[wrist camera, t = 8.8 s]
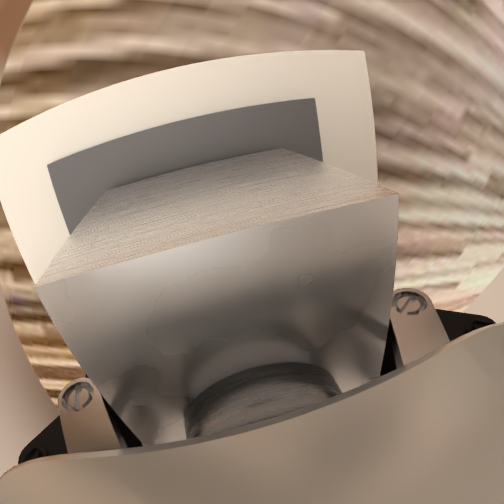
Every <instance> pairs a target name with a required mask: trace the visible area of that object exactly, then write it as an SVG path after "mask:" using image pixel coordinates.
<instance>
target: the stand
mask: <svg viewBox="0 0 504 504" xmlns="http://www.w3.org/2000/svg"><path fill="white" fill-rule="evenodd" d="M279 148H284V149H287V150H290V151H293V152H296V153H299V154H302V155H304V156H307V157H310V158H313V159H315V160H318V161H321V162H324V163H326V164H329V165H331V166H334V167H337V168H339V169H342V170H344V171H347V172H349V173H352V174H354V175H356V176H359V177H361V178H364V179H366V180H368V181H371V182H373V183H375V184H378V170H377V152H376V138H375V127H374V117H373V107H372V99H371V91H370V83H369V76H368V70H367V64H366V58H365V52H364V51H357V50H305V51H285V52H272V53H262V54H252V55H244V56H236V57H229V58H223V59H217V60H211V61H205V62H200V63H195V64H190V65H185V66H180V67H176V68H172V69H167V70H163V71H159V72H155V73H152V74H148V75H144V76H141V77H137V78H134V79H130V80H127V81H124V82H121V83H117V84H114V85H111V86H108V87H105V88H103V89H100V90H97V91H94V92H91V93H89V94H86V95H83V96H81V97H78V98H76V99H73V100H71V101H68V102H66V103H63V104H61V105H59V106H56V107H54V108H52V109H50V110H47V111H45V112H43V113H41V114H39V115H37V116H35V117H33V118H31V119H29V120H27V121H25V122H23V123H21V124H19V125H17V126H15V127H13V128H11V129H9V130H7V131H6V132H4V133H2V134H0V201H1V204H2V207H3V209H4V212H5V215H6V218H7V221H8V223H9V226H10V228H11V231H12V234H13V236H14V239H15V241H16V243H17V246H18V248H19V251H20V253H21V255H22V257H23V260H24V262H25V264H26V266H27V268H28V270H29V273H30V275H31V277H32V279H33V281H34V283H35V285H36V283H37V282H38V280H39V279H40V277H41V276H42V274H43V273H44V271H45V270H46V268H47V267H48V265H49V264H50V263H51V261H52V260H53V258H54V257H55V255H56V254H57V253H58V251H59V250H60V248H61V247H62V246H63V244H64V243H65V242H66V240H67V239H68V238H69V236H70V235H71V234H72V232H73V231H74V230H75V228H76V227H77V226H78V224H79V223H80V222H81V221H82V219H83V218H84V217H85V216H86V214H87V213H88V212H89V211H90V209H91V208H92V207H93V206H94V205H95V203H96V202H97V201H98V200H99V199H100V197H101V196H102V195H103V194H104V193H105V191H108V190H111V189H114V188H117V187H121V186H124V185H127V184H130V183H134V182H137V181H141V180H144V179H148V178H151V177H155V176H159V175H162V174H166V173H170V172H174V171H177V170H181V169H185V168H189V167H193V166H198V165H202V164H206V163H210V162H215V161H219V160H224V159H228V158H233V157H238V156H242V155H247V154H252V153H257V152H263V151H268V150H274V149H279Z"/></svg>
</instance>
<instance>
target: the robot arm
mask: <svg viewBox="0 0 504 504" xmlns="http://www.w3.org/2000/svg"><path fill="white" fill-rule="evenodd" d="M58 410H59V416H58V417H57V418H56V419H55V420H54V421H53V422H52V423H51V424H49V425H48V426H47V427H46V428H45V429H44V430H43V431H42V432H41V433H40V434H39V435H38V436H36V437H35V438H34V439H33V440H32V441H31V442H30V443H29V444H28V445H27V446H26V447H25V448H24V449H23V450H22V452H21V454H20V456H19V461H18V465H16V466H14V467H12V468H11V469H9V470H8V471H7V472H5V473H4V474H3V475H2V476H1V477H0V504H504V322H502V323H495V322H494V321H493V320H492V319H490V318H488V317H485V316H481V315H475V314H467V313H460V312H453V311H446V310H439V309H435V308H434V305H433V303H432V301H431V300H430V298H429V297H428V295H426V294H425V293H423V292H422V291H419V290H417V289H412V288H402V289H397V290H395V291H393V296H392V304H391V312H390V319H389V326H388V333H387V339H386V345H385V351H384V356H383V361H382V367H381V372H380V376H379V378H377V379H374V380H372V381H370V382H368V383H365V384H363V385H361V386H358V387H356V388H354V389H351V390H349V391H346V392H344V393H341V394H339V395H336V396H334V397H331V398H329V399H326V400H323V401H321V402H318V403H315V404H313V405H310V406H307V407H304V408H301V409H298V410H295V411H292V412H289V413H286V414H283V415H280V416H277V417H274V418H270V419H267V420H264V421H260V422H257V423H253V424H250V425H246V426H242V427H238V428H235V429H231V430H227V431H222V432H218V433H214V434H209V435H205V436H200V437H195V438H190V439H185V440H180V441H174V442H169V443H162V444H156V445H149V446H145V445H144V444H143V443H142V442H141V441H140V440H139V439H138V438H137V437H136V435H135V434H134V433H133V432H132V431H131V430H130V429H129V428H128V426H127V425H126V424H125V423H124V422H123V421H122V419H121V418H120V417H119V416H118V415H117V413H116V412H115V411H114V410H113V409H112V407H111V406H110V405H109V404H108V402H107V401H106V400H105V398H104V397H103V396H102V395H101V393H100V392H99V391H98V389H97V388H96V387H95V385H94V384H93V383H92V381H91V380H90V378H89V377H88V376H87V374H86V377H85V378H79V379H76V380H73V381H72V382H70V383H68V384H67V385H66V386H65V387H64V388H63V389H62V391H61V393H60V394H59V397H58Z"/></svg>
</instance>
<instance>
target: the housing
mask: <svg viewBox="0 0 504 504" xmlns="http://www.w3.org/2000/svg"><path fill="white" fill-rule="evenodd" d="M398 210H399V194H398V193H396V192H394V191H391V190H389V189H387V188H385V187H382V186H380V185H378V184H375V183H373V182H371V181H368V180H366V179H364V178H361V177H359V176H356V175H354V174H352V173H349V172H347V171H344V170H342V169H339V168H337V167H334V166H331V165H329V164H326V163H324V162H321V161H318V160H315V159H313V158H310V157H307V156H304V155H302V154H299V153H296V152H293V151H290V150H287V149H284V148H279V149H274V150H268V151H263V152H257V153H252V154H247V155H242V156H238V157H233V158H228V159H224V160H219V161H215V162H210V163H206V164H202V165H198V166H193V167H189V168H185V169H181V170H177V171H174V172H170V173H166V174H162V175H159V176H155V177H151V178H148V179H144V180H141V181H137V182H134V183H130V184H127V185H124V186H121V187H117V188H114V189H111V190H108V191H105V193H104V194H103V195H102V196H101V197H100V199H99V200H98V201H97V202H96V203H95V205H94V206H93V207H92V208H91V209H90V211H89V212H88V213H87V214H86V216H85V217H84V218H83V219H82V221H81V222H80V223H79V224H78V226H77V227H76V228H75V230H74V231H73V232H72V234H71V235H70V236H69V238H68V239H67V240H66V242H65V243H64V244H63V246H62V247H61V248H60V250H59V251H58V253H57V254H56V255H55V257H54V258H53V260H52V261H51V263H50V264H49V265H48V267H47V268H46V270H45V271H44V273H43V274H42V276H41V277H40V279H39V280H38V282H37V283H36V285H35V287H34V288H35V290H36V292H37V294H38V296H39V298H40V300H41V301H42V303H43V305H44V307H45V309H46V311H47V312H48V314H49V316H50V318H51V320H52V321H53V323H54V325H55V326H56V328H57V330H58V331H59V333H60V335H61V336H62V338H63V340H64V341H65V343H66V344H67V346H68V348H69V349H70V351H71V352H72V354H73V355H74V357H75V358H76V360H77V361H78V363H79V364H80V366H81V367H82V369H83V370H84V371H85V373H86V374H87V376H88V377H89V378H90V380H91V381H92V383H93V384H94V385H95V387H96V388H97V389H98V391H99V392H100V393H101V395H102V396H103V397H104V398H105V400H106V401H107V402H108V404H109V405H110V406H111V407H112V409H113V410H114V411H115V412H116V413H117V415H118V416H119V417H120V418H121V419H122V421H123V422H124V423H125V424H126V425H127V426H128V428H129V429H130V430H131V431H132V432H133V433H134V434H135V435H136V437H137V438H138V439H139V440H140V441H141V442H142V443H143V444H144V445H145V446H149V445H156V444H162V443H169V442H174V441H180V440H185V439H190V438H195V437H200V436H205V435H209V434H214V433H218V432H222V431H227V430H231V429H235V428H238V427H242V426H246V425H250V424H253V423H257V422H260V421H264V420H267V419H270V418H274V417H277V416H280V415H283V414H286V413H289V412H292V411H295V410H298V409H301V408H304V407H307V406H310V405H313V404H315V403H318V402H321V401H323V400H326V399H329V398H331V397H334V396H336V395H339V394H341V393H344V392H346V391H349V390H351V389H354V388H356V387H358V386H361V385H363V384H365V383H368V382H370V381H372V380H374V379H377V378H379V376H380V372H381V367H382V361H383V356H384V351H385V345H386V339H387V333H388V326H389V319H390V312H391V304H392V296H393V287H394V277H395V266H396V253H397V237H398Z"/></svg>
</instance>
